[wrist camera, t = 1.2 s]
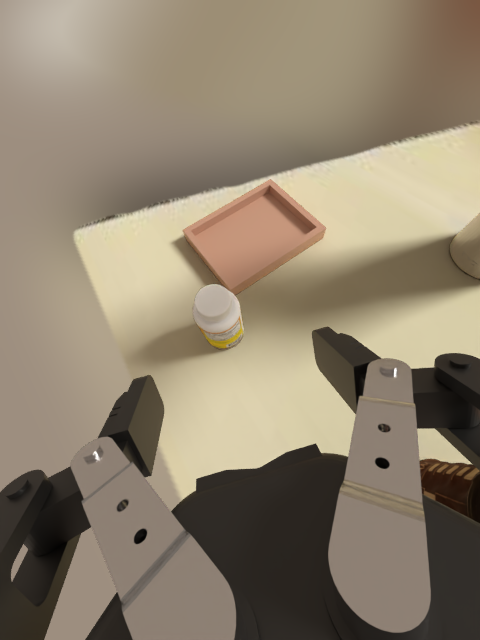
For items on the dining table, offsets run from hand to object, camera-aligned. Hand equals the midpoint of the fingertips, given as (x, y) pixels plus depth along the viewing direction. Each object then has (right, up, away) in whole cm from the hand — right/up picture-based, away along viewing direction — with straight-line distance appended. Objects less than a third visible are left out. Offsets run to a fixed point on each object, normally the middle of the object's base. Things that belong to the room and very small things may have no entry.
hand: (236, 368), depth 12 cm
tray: (+2, +16, +30) cm, 34 cm away
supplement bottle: (-2, +1, +24) cm, 25 cm away
